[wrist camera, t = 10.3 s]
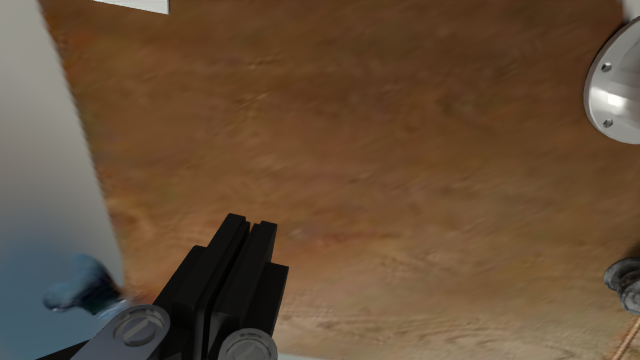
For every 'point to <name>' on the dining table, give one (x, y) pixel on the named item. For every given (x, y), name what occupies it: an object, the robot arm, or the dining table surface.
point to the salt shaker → (625, 283)
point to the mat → (143, 4)
